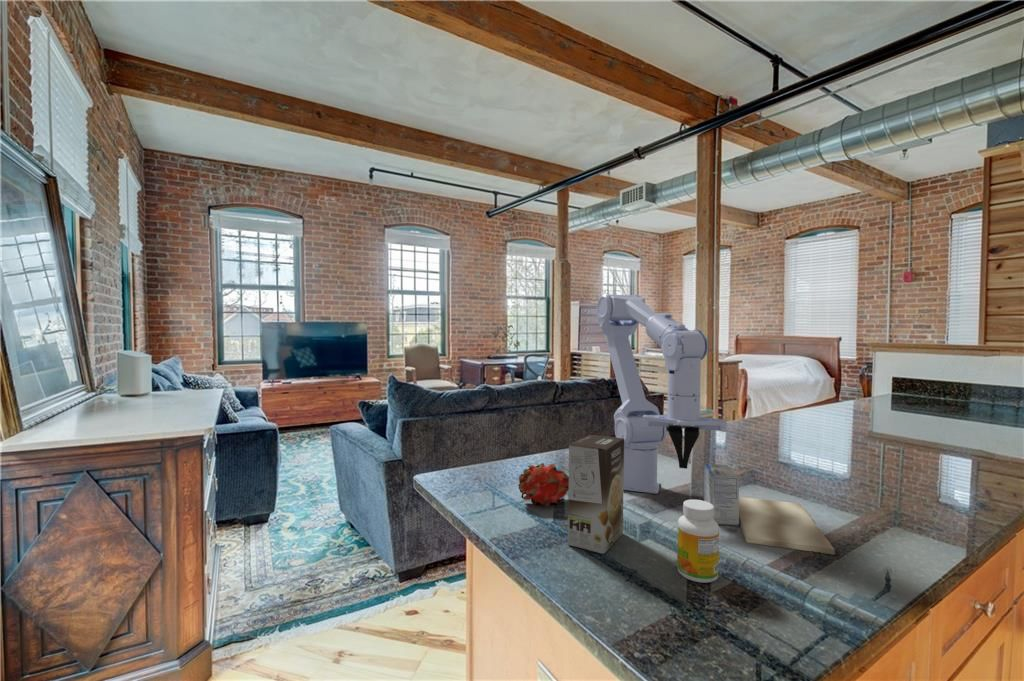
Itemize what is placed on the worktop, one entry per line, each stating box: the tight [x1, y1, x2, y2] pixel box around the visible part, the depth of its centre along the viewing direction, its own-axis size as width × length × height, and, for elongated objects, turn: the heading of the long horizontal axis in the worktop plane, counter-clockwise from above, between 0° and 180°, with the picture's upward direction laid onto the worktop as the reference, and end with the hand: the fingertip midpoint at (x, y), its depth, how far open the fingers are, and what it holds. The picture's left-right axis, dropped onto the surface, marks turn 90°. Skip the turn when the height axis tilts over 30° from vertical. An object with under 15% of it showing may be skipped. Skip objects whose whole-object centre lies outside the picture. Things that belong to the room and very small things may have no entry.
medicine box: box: [703, 463, 740, 527], centre depth 84 cm, size 8×4×9 cm, turn 168°
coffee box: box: [567, 434, 624, 555], centre depth 75 cm, size 9×6×16 cm
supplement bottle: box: [676, 499, 720, 584], centre depth 64 cm, size 5×5×10 cm
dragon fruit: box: [517, 462, 569, 507], centre depth 91 cm, size 8×8×12 cm
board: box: [739, 496, 836, 555], centre depth 82 cm, size 12×20×1 cm, turn 161°
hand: (683, 466), depth 86 cm, fingers closed
